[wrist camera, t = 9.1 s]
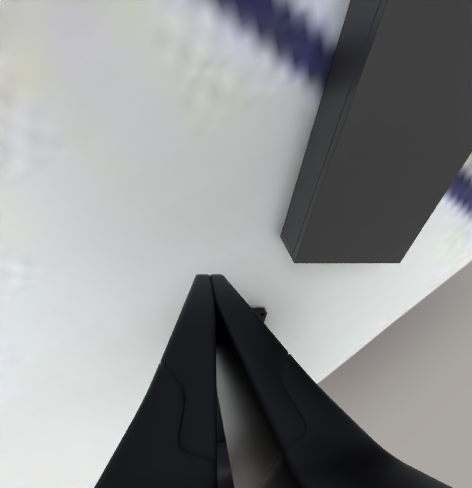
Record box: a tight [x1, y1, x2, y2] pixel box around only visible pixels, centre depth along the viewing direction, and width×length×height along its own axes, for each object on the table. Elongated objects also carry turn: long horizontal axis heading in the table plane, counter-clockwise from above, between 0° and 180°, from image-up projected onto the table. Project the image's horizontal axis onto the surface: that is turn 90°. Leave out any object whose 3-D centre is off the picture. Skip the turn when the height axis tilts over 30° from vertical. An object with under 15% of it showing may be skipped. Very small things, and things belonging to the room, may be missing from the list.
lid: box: [280, 0, 472, 263], centre depth 17 cm, size 20×10×4 cm, turn 171°
